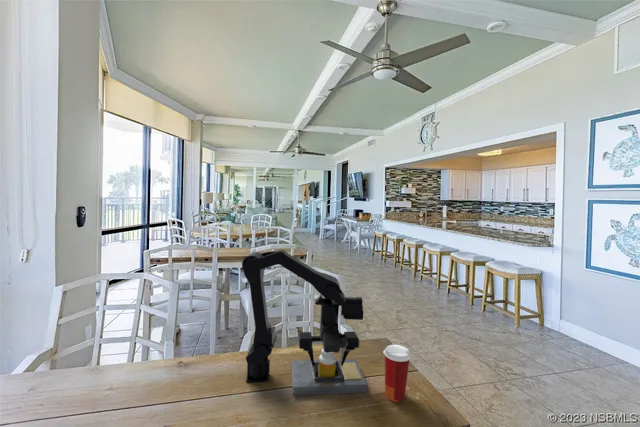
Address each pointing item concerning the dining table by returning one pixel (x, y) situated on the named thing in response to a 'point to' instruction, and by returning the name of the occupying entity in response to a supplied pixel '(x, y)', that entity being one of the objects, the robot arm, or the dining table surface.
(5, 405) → the dining table surface
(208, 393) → the dining table surface
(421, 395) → the dining table surface
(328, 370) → the supplement bottle
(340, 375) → the grey base block
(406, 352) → the paper cup
